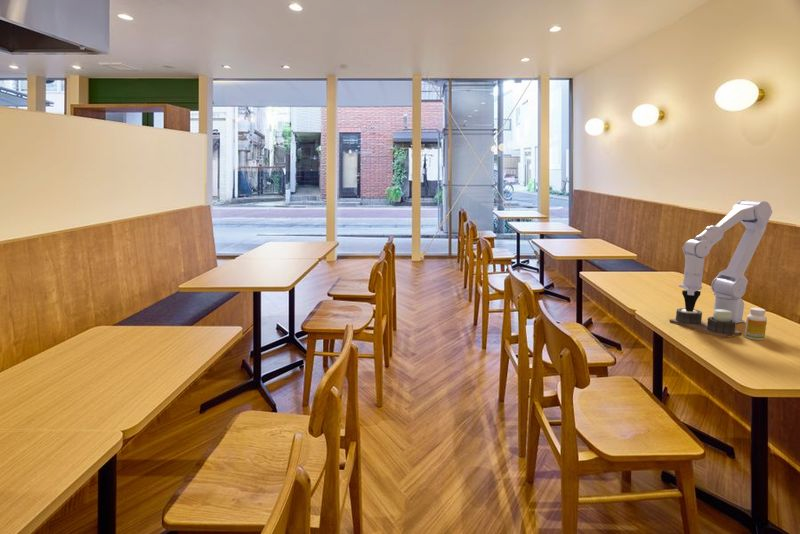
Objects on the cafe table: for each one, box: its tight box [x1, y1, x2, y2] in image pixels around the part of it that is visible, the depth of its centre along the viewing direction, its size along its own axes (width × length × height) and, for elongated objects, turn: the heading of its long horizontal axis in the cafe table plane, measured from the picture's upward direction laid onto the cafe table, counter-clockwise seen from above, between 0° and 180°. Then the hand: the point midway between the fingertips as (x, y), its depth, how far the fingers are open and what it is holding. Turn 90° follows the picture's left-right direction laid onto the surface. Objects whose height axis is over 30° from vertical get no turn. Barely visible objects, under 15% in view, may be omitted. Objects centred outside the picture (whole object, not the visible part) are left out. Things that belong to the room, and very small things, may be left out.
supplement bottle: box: [744, 307, 768, 341], centre depth 165 cm, size 5×5×10 cm
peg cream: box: [681, 309, 697, 313], centre depth 182 cm, size 5×5×4 cm
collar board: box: [669, 307, 742, 339], centre depth 177 cm, size 9×20×4 cm, turn 23°
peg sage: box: [712, 309, 732, 322], centre depth 171 cm, size 5×5×4 cm
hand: (689, 311), depth 182 cm, fingers closed, pressing on peg cream
